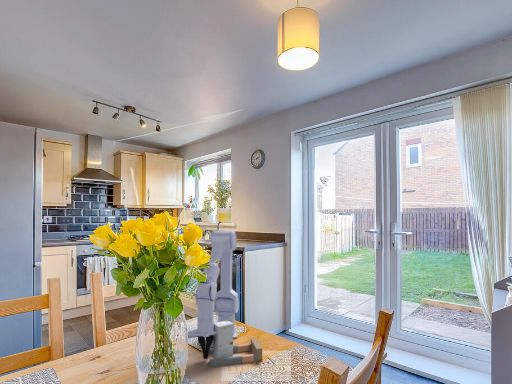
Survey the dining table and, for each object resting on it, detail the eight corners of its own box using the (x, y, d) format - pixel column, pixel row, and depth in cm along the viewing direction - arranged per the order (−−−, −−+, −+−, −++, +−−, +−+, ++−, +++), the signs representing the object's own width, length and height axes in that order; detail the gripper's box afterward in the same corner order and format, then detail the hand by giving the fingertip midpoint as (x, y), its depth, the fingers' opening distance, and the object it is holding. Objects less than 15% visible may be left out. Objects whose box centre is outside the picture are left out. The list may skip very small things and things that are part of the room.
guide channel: (207, 354, 109) (207, 342, 110) (255, 348, 113) (255, 337, 114) (210, 366, 100) (210, 354, 100) (262, 360, 104) (262, 348, 105)
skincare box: (218, 363, 102) (218, 327, 103) (212, 358, 106) (212, 323, 107) (233, 358, 106) (233, 323, 107) (227, 354, 109) (227, 319, 110)
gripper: (184, 323, 100) (184, 365, 99) (227, 319, 103) (227, 360, 102) (184, 316, 107) (183, 356, 106) (225, 313, 110) (225, 351, 109)
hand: (205, 357), depth 104 cm, fingers closed
